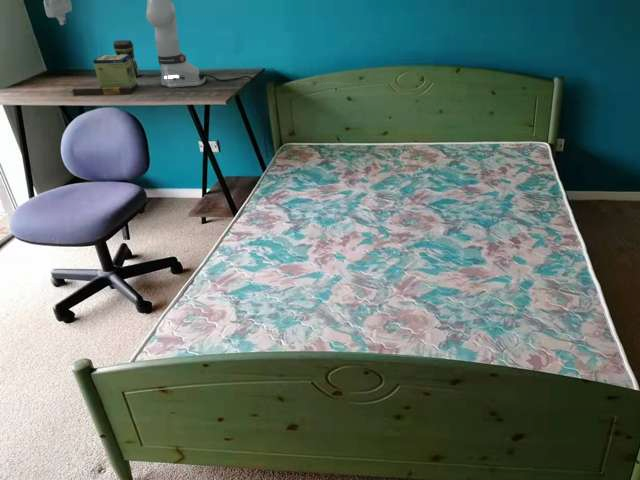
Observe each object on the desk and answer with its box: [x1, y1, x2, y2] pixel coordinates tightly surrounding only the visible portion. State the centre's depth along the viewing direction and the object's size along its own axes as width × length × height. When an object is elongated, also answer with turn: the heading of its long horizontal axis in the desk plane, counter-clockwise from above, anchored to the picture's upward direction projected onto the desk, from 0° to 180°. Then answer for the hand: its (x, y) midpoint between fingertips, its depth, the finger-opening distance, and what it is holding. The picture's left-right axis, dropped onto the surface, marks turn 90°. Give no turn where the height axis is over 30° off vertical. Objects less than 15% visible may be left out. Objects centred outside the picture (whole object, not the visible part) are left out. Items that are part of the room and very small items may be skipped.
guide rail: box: [72, 87, 132, 96], centre depth 295 cm, size 28×2×3 cm, turn 89°
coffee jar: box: [113, 39, 141, 78], centre depth 318 cm, size 10×8×19 cm
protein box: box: [92, 54, 138, 92], centre depth 299 cm, size 10×16×16 cm
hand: (63, 24), depth 290 cm, fingers closed
